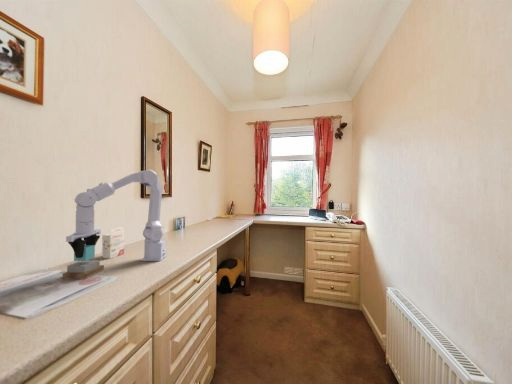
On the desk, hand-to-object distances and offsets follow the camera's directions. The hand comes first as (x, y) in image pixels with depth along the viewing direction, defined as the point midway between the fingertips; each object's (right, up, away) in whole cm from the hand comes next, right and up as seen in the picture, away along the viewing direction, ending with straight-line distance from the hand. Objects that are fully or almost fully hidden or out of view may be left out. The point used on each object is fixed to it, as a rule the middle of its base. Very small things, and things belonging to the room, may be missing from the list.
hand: (84, 255), depth 81 cm
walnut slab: (0, -8, 0) cm, 8 cm away
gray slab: (0, -6, 0) cm, 6 cm away
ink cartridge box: (-5, -8, +23) cm, 25 cm away
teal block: (0, -1, 0) cm, 1 cm away
